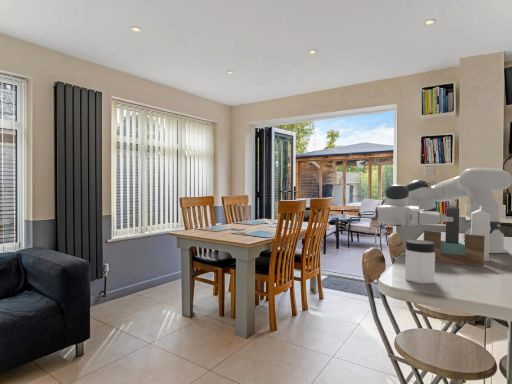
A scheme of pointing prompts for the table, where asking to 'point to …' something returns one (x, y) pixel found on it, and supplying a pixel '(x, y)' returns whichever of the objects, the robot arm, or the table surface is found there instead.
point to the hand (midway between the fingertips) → (452, 218)
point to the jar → (420, 261)
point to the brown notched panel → (471, 251)
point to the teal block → (452, 248)
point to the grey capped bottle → (452, 224)
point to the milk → (481, 228)
